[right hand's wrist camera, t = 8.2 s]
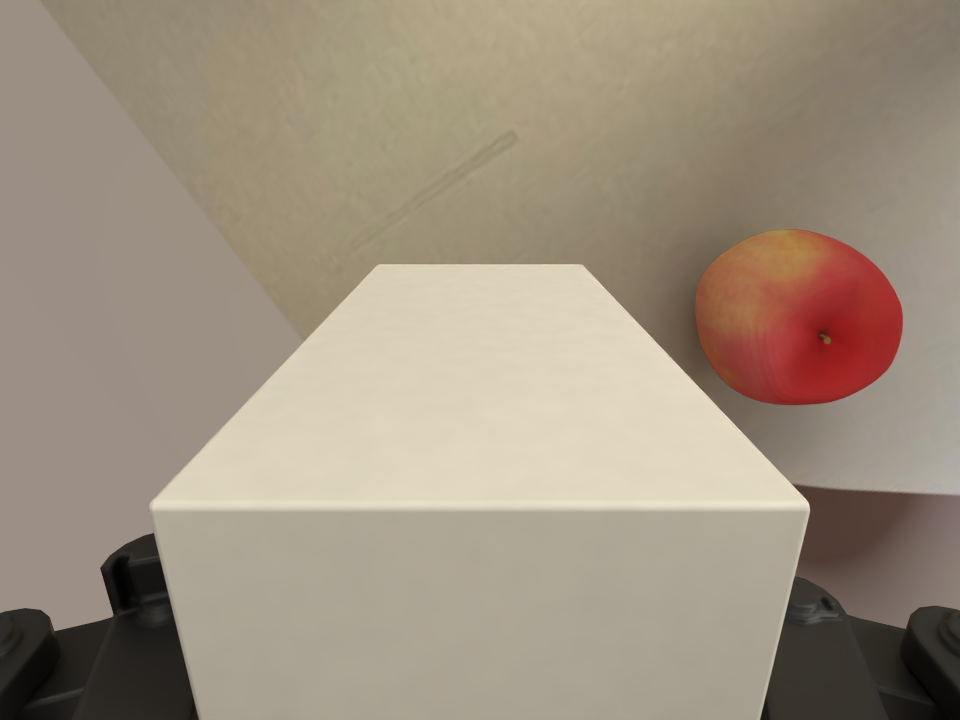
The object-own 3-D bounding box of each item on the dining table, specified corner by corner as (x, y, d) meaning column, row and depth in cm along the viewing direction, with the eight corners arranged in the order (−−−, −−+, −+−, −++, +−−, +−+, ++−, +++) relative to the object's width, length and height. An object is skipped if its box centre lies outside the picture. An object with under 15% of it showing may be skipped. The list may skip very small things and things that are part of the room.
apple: (839, 232, 35) (972, 260, 26) (788, 372, 38) (890, 443, 29) (690, 209, 34) (770, 229, 25) (652, 353, 38) (710, 418, 28)
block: (567, 502, 19) (695, 1001, 8) (391, 502, 19) (264, 1002, 8) (583, 264, 16) (815, 504, 5) (376, 263, 16) (143, 504, 5)
